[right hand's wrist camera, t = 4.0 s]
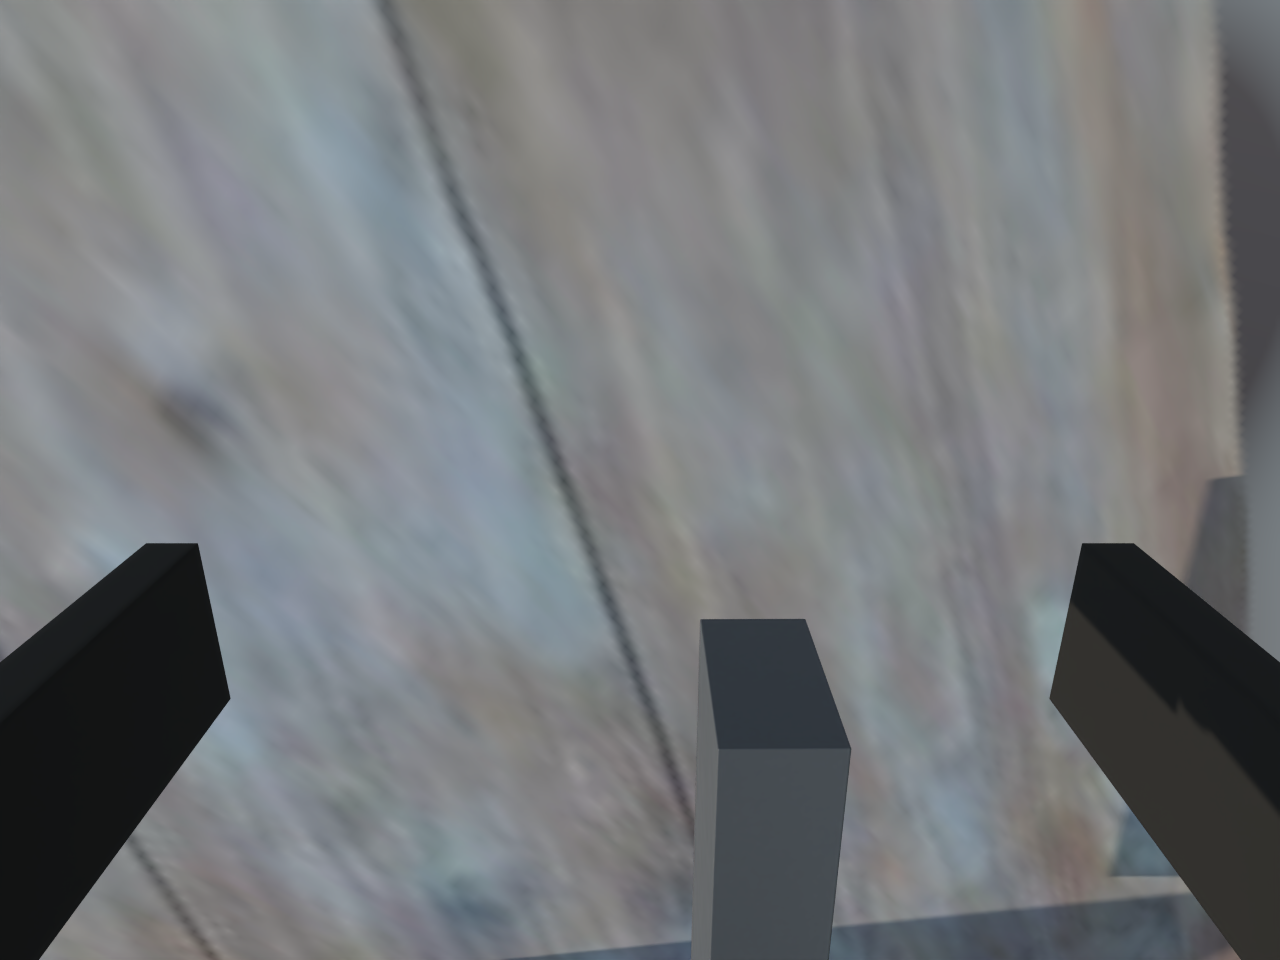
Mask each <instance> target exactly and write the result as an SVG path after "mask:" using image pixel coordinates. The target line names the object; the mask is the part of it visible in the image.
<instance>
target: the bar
mask: <svg viewBox="0 0 1280 960" xmlns="http://www.w3.org/2000/svg"><path fill="white" fill-rule="evenodd" d="M850 755H851V747H850V744H849V741H848V738H847V736H846V733H845V730H844V727H843V724H842V721H841V719H840V716H839V713H838V710H837V707H836V705H835V702H834V699H833V696H832V693H831V690H830V688H829V685H828V682H827V679H826V676H825V674H824V671H823V668H822V665H821V662H820V659H819V657H818V654H817V651H816V648H815V645H814V643H813V640H812V637H811V634H810V631H809V628H808V626H807V623H806V620H805V619H701V620H700V645H699V682H698V719H697V756H696V794H695V831H694V868H693V905H692V943H691V960H828V959H829V950H830V941H831V932H832V922H833V913H834V904H835V894H836V885H837V876H838V867H839V857H840V848H841V839H842V829H843V820H844V811H845V802H846V792H847V783H848V774H849V764H850Z"/></svg>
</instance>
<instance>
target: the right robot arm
mask: <svg viewBox="0 0 1280 960" xmlns="http://www.w3.org/2000/svg"><path fill="white" fill-rule="evenodd" d="M229 700H230V694H229V689H228V684H227V680H226V675H225V670H224V665H223V661H222V656H221V651H220V646H219V642H218V637H217V632H216V627H215V623H214V618H213V613H212V608H211V604H210V599H209V594H208V589H207V585H206V580H205V575H204V570H203V566H202V561H201V556H200V551H199V547H198V543H146V544H145V545H144V546H142V547H141V548H140V549H139V550H138V551H136V552H135V553H134V554H133V555H131V556H130V557H129V558H128V559H126V560H125V561H124V562H123V563H122V564H120V565H119V566H118V567H117V568H115V569H114V570H113V571H112V572H111V573H109V574H108V575H107V576H106V577H104V578H103V579H102V580H101V581H100V582H98V583H97V584H96V585H95V586H93V587H92V588H91V589H90V590H88V591H87V592H86V593H85V594H84V595H82V596H81V597H80V598H79V599H77V600H76V601H75V602H74V603H73V604H71V605H70V606H69V607H68V608H66V609H65V610H64V611H63V612H61V613H60V614H59V615H58V616H57V617H55V618H54V619H53V620H52V621H50V622H49V623H48V624H47V625H46V626H44V627H43V628H42V629H41V630H39V631H38V632H37V633H36V634H34V635H33V636H32V637H31V638H30V639H28V640H27V641H26V642H25V643H23V644H22V645H21V646H20V647H19V648H17V649H16V650H15V651H14V652H12V653H11V654H10V655H9V656H8V657H6V658H5V659H4V660H3V661H1V662H0V960H39V959H40V958H41V956H42V955H43V953H44V952H45V951H46V949H47V948H48V947H49V945H50V944H51V943H52V941H53V940H54V938H55V937H56V936H57V934H58V933H59V932H60V930H61V929H62V928H63V926H64V925H65V923H66V922H67V921H68V919H69V918H70V917H71V915H72V914H73V913H74V911H75V910H76V908H77V907H78V906H79V904H80V903H81V902H82V900H83V899H84V898H85V896H86V895H87V893H88V892H89V891H90V889H91V888H92V887H93V885H94V884H95V883H96V881H97V880H98V879H99V877H100V876H101V874H102V873H103V872H104V870H105V869H106V868H107V866H108V865H109V864H110V862H111V861H112V859H113V858H114V857H115V855H116V854H117V853H118V851H119V850H120V849H121V847H122V846H123V844H124V843H125V842H126V840H127V839H128V838H129V836H130V835H131V834H132V832H133V831H134V829H135V828H136V827H137V825H138V824H139V823H140V821H141V820H142V819H143V817H144V816H145V814H146V813H147V812H148V810H149V809H150V808H151V806H152V805H153V804H154V802H155V801H156V800H157V798H158V797H159V795H160V794H161V793H162V791H163V790H164V789H165V787H166V786H167V785H168V783H169V782H170V780H171V779H172V778H173V776H174V775H175V774H176V772H177V771H178V770H179V768H180V767H181V765H182V764H183V763H184V761H185V760H186V759H187V757H188V756H189V755H190V753H191V752H192V750H193V749H194V748H195V746H196V745H197V744H198V742H199V741H200V740H201V738H202V737H203V735H204V734H205V733H206V731H207V730H208V729H209V727H210V726H211V725H212V723H213V722H214V720H215V719H216V718H217V716H218V715H219V714H220V712H221V711H222V710H223V708H224V707H225V706H226V704H227V703H228V701H229ZM1050 700H1051V701H1052V703H1053V704H1054V706H1055V707H1056V708H1057V710H1058V711H1059V712H1060V714H1061V715H1062V716H1063V718H1064V719H1065V720H1066V722H1067V723H1068V725H1069V726H1070V727H1071V729H1072V730H1073V731H1074V733H1075V734H1076V735H1077V737H1078V738H1079V740H1080V741H1081V742H1082V744H1083V745H1084V746H1085V748H1086V749H1087V750H1088V752H1089V753H1090V755H1091V756H1092V757H1093V759H1094V760H1095V761H1096V763H1097V764H1098V765H1099V767H1100V768H1101V770H1102V771H1103V772H1104V774H1105V775H1106V776H1107V778H1108V779H1109V780H1110V782H1111V783H1112V785H1113V786H1114V787H1115V789H1116V790H1117V791H1118V793H1119V794H1120V795H1121V797H1122V798H1123V800H1124V801H1125V802H1126V804H1127V805H1128V806H1129V808H1130V809H1131V810H1132V812H1133V813H1134V814H1135V816H1136V817H1137V819H1138V820H1139V821H1140V823H1141V824H1142V825H1143V827H1144V828H1145V829H1146V831H1147V832H1148V834H1149V835H1150V836H1151V838H1152V839H1153V840H1154V842H1155V843H1156V844H1157V846H1158V847H1159V849H1160V850H1161V851H1162V853H1163V854H1164V855H1165V857H1166V858H1167V859H1168V861H1169V862H1170V864H1171V865H1172V866H1173V868H1174V869H1175V870H1176V872H1177V873H1178V874H1179V876H1180V877H1181V879H1182V880H1183V881H1184V883H1185V884H1186V885H1187V887H1188V888H1189V889H1190V891H1191V892H1192V893H1193V895H1194V896H1195V898H1196V899H1197V900H1198V902H1199V903H1200V904H1201V906H1202V907H1203V908H1204V910H1205V911H1206V913H1207V914H1208V915H1209V917H1210V918H1211V919H1212V921H1213V922H1214V923H1215V925H1216V926H1217V928H1218V929H1219V930H1220V932H1221V933H1222V934H1223V936H1224V937H1225V938H1226V940H1227V941H1228V943H1229V944H1230V945H1231V947H1232V948H1233V949H1234V951H1235V952H1236V953H1237V955H1238V956H1239V958H1240V959H1241V960H1280V662H1279V661H1277V660H1276V659H1275V658H1274V657H1272V656H1271V655H1270V654H1269V653H1267V652H1266V651H1265V650H1264V649H1263V648H1261V647H1260V646H1259V645H1258V644H1257V643H1255V642H1254V641H1253V640H1252V639H1250V638H1249V637H1248V636H1247V635H1246V634H1244V633H1243V632H1242V631H1241V630H1239V629H1238V628H1237V627H1236V626H1234V625H1233V624H1232V623H1231V622H1230V621H1228V620H1227V619H1226V618H1225V617H1223V616H1222V615H1221V614H1220V613H1219V612H1217V611H1216V610H1215V609H1214V608H1212V607H1211V606H1210V605H1209V604H1207V603H1206V602H1205V601H1204V600H1203V599H1201V598H1200V597H1199V596H1198V595H1196V594H1195V593H1194V592H1193V591H1192V590H1190V589H1189V588H1188V587H1187V586H1185V585H1184V584H1183V583H1182V582H1180V581H1179V580H1178V579H1177V578H1176V577H1174V576H1173V575H1172V574H1171V573H1169V572H1168V571H1167V570H1166V569H1165V568H1163V567H1162V566H1161V565H1160V564H1158V563H1157V562H1156V561H1155V560H1154V559H1152V558H1151V557H1150V556H1149V555H1147V554H1146V553H1145V552H1144V551H1142V550H1141V549H1140V548H1139V547H1138V546H1136V545H1135V544H1134V543H1082V547H1081V551H1080V556H1079V561H1078V566H1077V570H1076V575H1075V580H1074V585H1073V589H1072V594H1071V599H1070V604H1069V608H1068V613H1067V618H1066V623H1065V627H1064V632H1063V637H1062V642H1061V646H1060V651H1059V656H1058V661H1057V665H1056V670H1055V675H1054V680H1053V684H1052V689H1051V694H1050Z"/></svg>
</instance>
